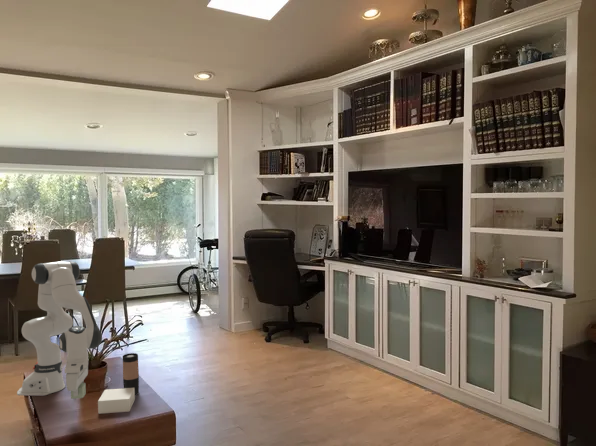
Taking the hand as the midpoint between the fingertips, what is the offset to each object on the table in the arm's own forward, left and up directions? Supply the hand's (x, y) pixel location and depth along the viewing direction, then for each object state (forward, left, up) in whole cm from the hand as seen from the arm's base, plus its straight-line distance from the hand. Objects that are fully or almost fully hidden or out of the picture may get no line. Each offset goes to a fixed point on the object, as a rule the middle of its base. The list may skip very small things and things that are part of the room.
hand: (78, 392), depth 223 cm
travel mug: (+18, +26, -12) cm, 34 cm away
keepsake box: (+14, +11, -12) cm, 22 cm away
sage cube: (0, 0, -2) cm, 2 cm away
